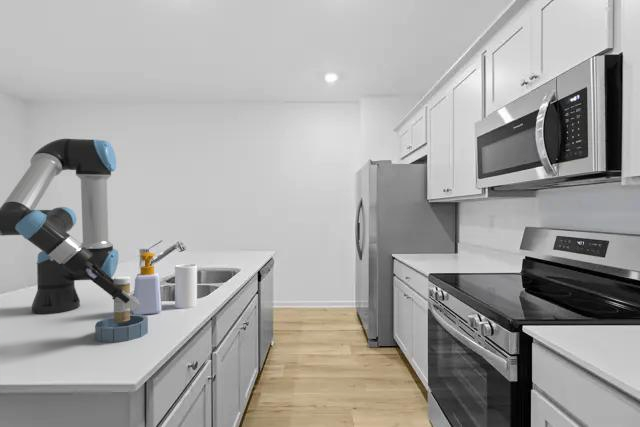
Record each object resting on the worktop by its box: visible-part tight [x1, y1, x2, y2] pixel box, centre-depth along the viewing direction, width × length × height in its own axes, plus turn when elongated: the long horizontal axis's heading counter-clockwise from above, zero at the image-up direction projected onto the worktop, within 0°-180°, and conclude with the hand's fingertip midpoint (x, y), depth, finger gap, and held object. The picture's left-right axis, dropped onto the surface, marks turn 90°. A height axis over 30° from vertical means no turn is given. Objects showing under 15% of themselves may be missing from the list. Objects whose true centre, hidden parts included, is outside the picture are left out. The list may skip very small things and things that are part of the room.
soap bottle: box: [131, 251, 162, 316], centre depth 138 cm, size 10×14×22 cm
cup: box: [174, 263, 198, 309], centre depth 149 cm, size 8×8×16 cm
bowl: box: [94, 314, 149, 343], centre depth 115 cm, size 14×14×4 cm
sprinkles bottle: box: [113, 275, 131, 323], centre depth 115 cm, size 5×5×14 cm
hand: (135, 305), depth 117 cm, fingers closed on sprinkles bottle, 4 cm apart
